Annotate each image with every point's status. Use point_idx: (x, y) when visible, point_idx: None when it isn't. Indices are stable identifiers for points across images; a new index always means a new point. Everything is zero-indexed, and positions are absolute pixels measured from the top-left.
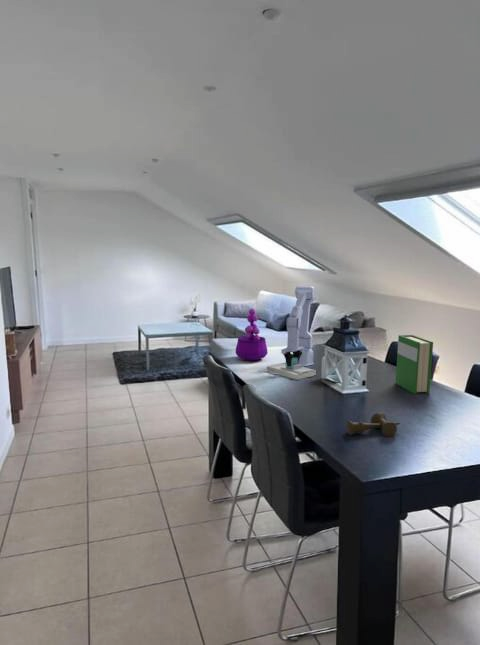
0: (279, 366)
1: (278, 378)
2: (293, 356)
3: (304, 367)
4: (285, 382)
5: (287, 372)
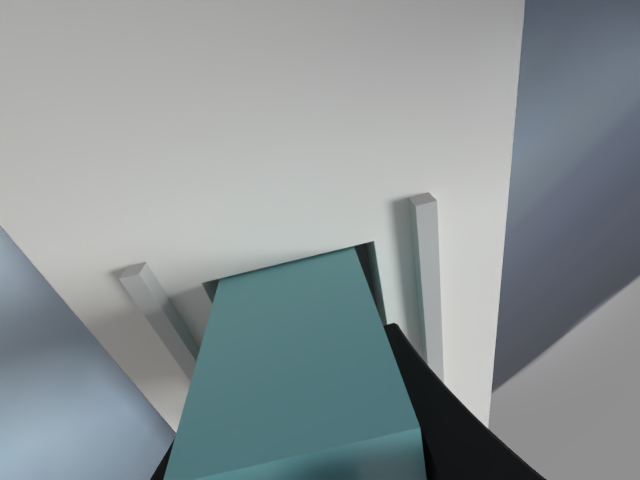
0: (145, 139)
1: (65, 388)
2: (434, 468)
3: (496, 319)
4: (106, 469)
5: (168, 418)
